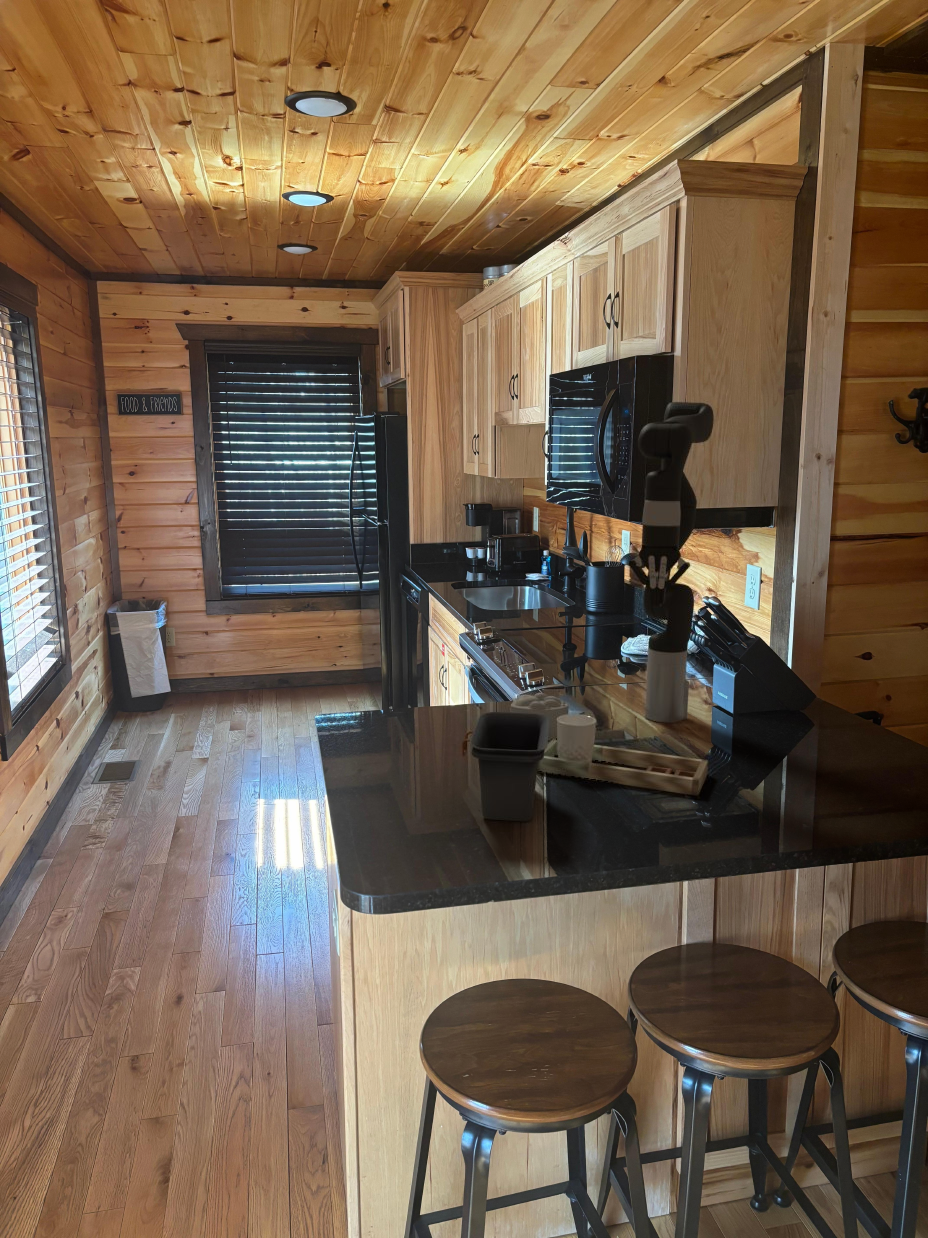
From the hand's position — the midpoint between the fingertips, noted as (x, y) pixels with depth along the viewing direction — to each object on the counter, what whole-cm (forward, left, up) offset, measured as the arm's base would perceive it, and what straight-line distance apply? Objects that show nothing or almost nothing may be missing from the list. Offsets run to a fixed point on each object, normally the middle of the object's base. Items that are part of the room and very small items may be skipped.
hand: (657, 605), depth 187 cm
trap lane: (+12, +10, -32) cm, 36 cm away
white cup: (+19, +4, -32) cm, 38 cm away
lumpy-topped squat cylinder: (+18, -19, -32) cm, 41 cm away
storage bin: (+40, +19, -32) cm, 55 cm away
